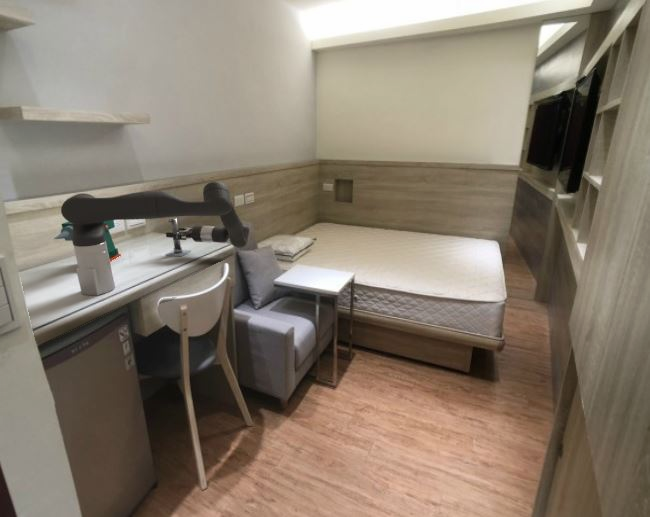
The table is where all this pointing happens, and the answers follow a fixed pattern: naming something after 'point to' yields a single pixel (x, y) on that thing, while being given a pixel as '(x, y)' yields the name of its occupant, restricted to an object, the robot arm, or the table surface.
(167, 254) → the rest mat
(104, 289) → the robot arm
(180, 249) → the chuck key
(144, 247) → the table surface
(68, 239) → the power tool
